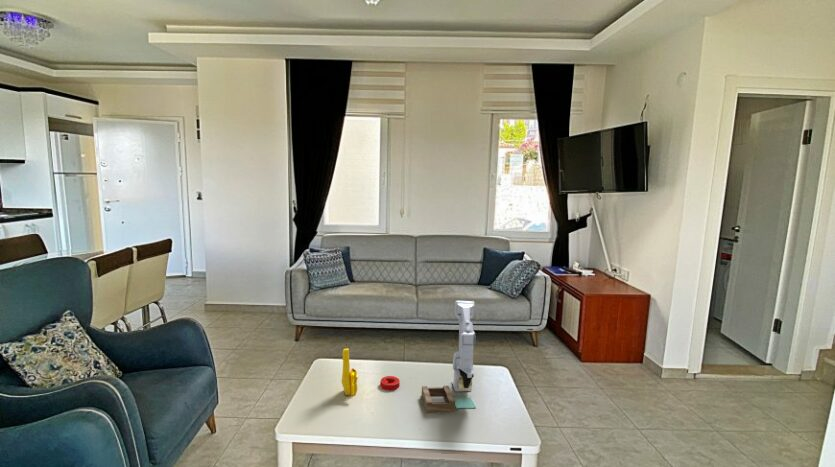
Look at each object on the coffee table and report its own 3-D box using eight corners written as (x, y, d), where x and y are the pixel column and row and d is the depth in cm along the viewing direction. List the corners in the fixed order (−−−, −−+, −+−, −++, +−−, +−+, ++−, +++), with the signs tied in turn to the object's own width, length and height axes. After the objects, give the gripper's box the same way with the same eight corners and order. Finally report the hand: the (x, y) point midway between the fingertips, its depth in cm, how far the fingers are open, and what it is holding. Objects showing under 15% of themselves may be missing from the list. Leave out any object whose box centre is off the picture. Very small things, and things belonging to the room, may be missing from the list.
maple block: (457, 386, 198) (457, 376, 197) (469, 385, 199) (470, 375, 198) (459, 390, 194) (459, 380, 193) (471, 389, 195) (472, 379, 194)
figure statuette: (357, 402, 194) (358, 356, 192) (340, 402, 193) (341, 357, 190) (358, 383, 212) (359, 341, 209) (342, 383, 211) (343, 342, 208)
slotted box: (421, 396, 202) (421, 386, 202) (447, 395, 204) (448, 385, 204) (426, 413, 188) (426, 402, 187) (454, 412, 190) (455, 401, 189)
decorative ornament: (403, 386, 212) (403, 380, 211) (390, 392, 204) (390, 386, 204) (389, 379, 218) (390, 373, 218) (376, 385, 211) (376, 380, 210)
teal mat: (452, 398, 201) (452, 397, 201) (470, 398, 202) (470, 397, 202) (456, 408, 192) (456, 408, 192) (475, 408, 193) (475, 407, 193)
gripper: (454, 351, 201) (453, 378, 203) (462, 364, 187) (460, 393, 188) (469, 351, 202) (467, 377, 204) (477, 364, 188) (475, 392, 189)
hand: (464, 385), depth 196 cm, fingers closed on maple block, 4 cm apart
